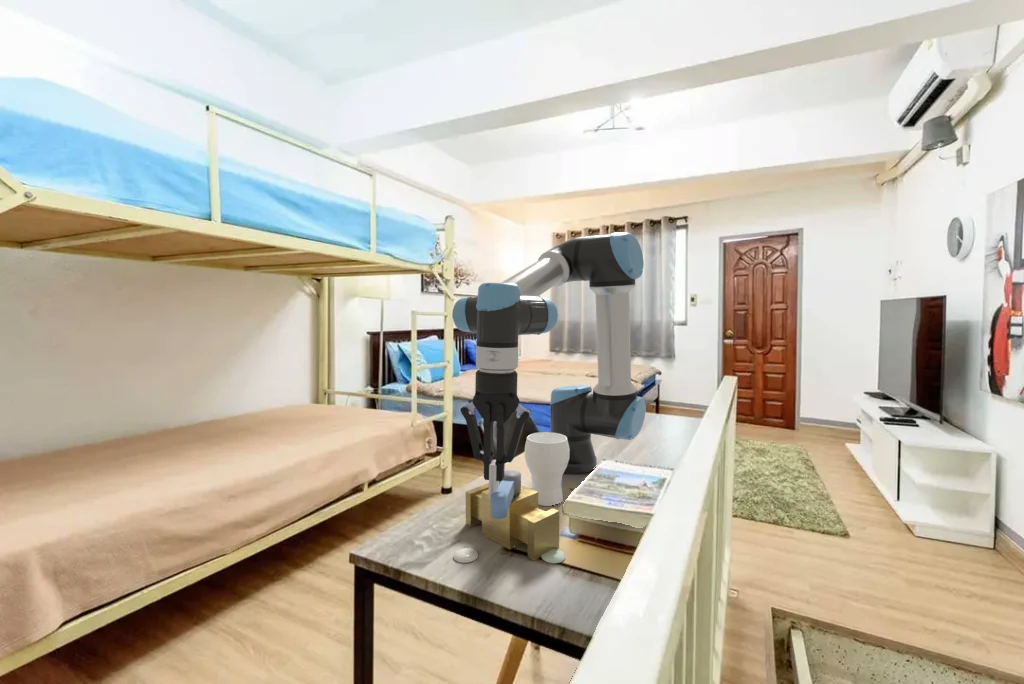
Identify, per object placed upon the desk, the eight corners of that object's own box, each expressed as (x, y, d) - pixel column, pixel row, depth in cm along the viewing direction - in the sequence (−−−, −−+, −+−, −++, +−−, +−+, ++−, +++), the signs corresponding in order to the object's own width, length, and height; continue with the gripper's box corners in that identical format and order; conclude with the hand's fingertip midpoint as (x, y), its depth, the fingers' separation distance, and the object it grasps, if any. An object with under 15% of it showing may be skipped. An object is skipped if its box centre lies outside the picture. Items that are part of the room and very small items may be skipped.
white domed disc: (467, 547, 85) (467, 545, 85) (482, 556, 82) (482, 554, 82) (448, 556, 82) (448, 554, 82) (463, 565, 79) (463, 564, 79)
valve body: (463, 524, 94) (463, 483, 93) (492, 512, 99) (492, 474, 99) (532, 561, 80) (532, 514, 79) (560, 545, 85) (561, 500, 85)
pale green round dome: (551, 547, 85) (551, 546, 85) (570, 556, 82) (570, 555, 82) (536, 556, 82) (536, 554, 82) (554, 566, 78) (554, 564, 78)
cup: (567, 511, 100) (567, 445, 99) (520, 507, 102) (520, 442, 101) (570, 492, 111) (571, 432, 110) (528, 489, 113) (528, 430, 112)
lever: (501, 485, 92) (501, 467, 91) (522, 486, 91) (522, 469, 91) (484, 518, 77) (484, 497, 77) (509, 519, 76) (509, 499, 76)
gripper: (455, 370, 78) (453, 501, 80) (528, 375, 75) (524, 510, 77) (468, 365, 85) (466, 485, 87) (535, 368, 82) (531, 492, 85)
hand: (493, 496), depth 82 cm, fingers closed
